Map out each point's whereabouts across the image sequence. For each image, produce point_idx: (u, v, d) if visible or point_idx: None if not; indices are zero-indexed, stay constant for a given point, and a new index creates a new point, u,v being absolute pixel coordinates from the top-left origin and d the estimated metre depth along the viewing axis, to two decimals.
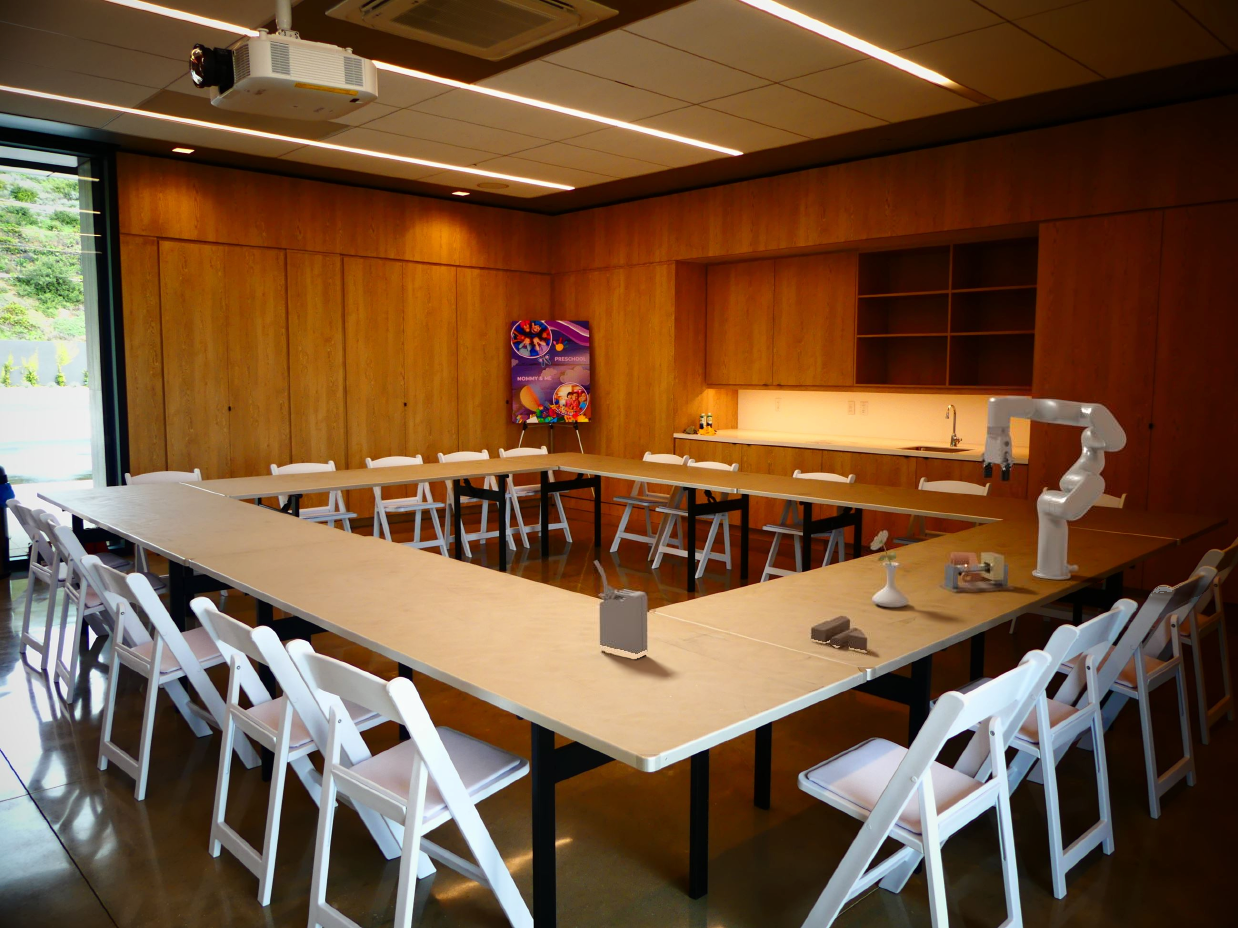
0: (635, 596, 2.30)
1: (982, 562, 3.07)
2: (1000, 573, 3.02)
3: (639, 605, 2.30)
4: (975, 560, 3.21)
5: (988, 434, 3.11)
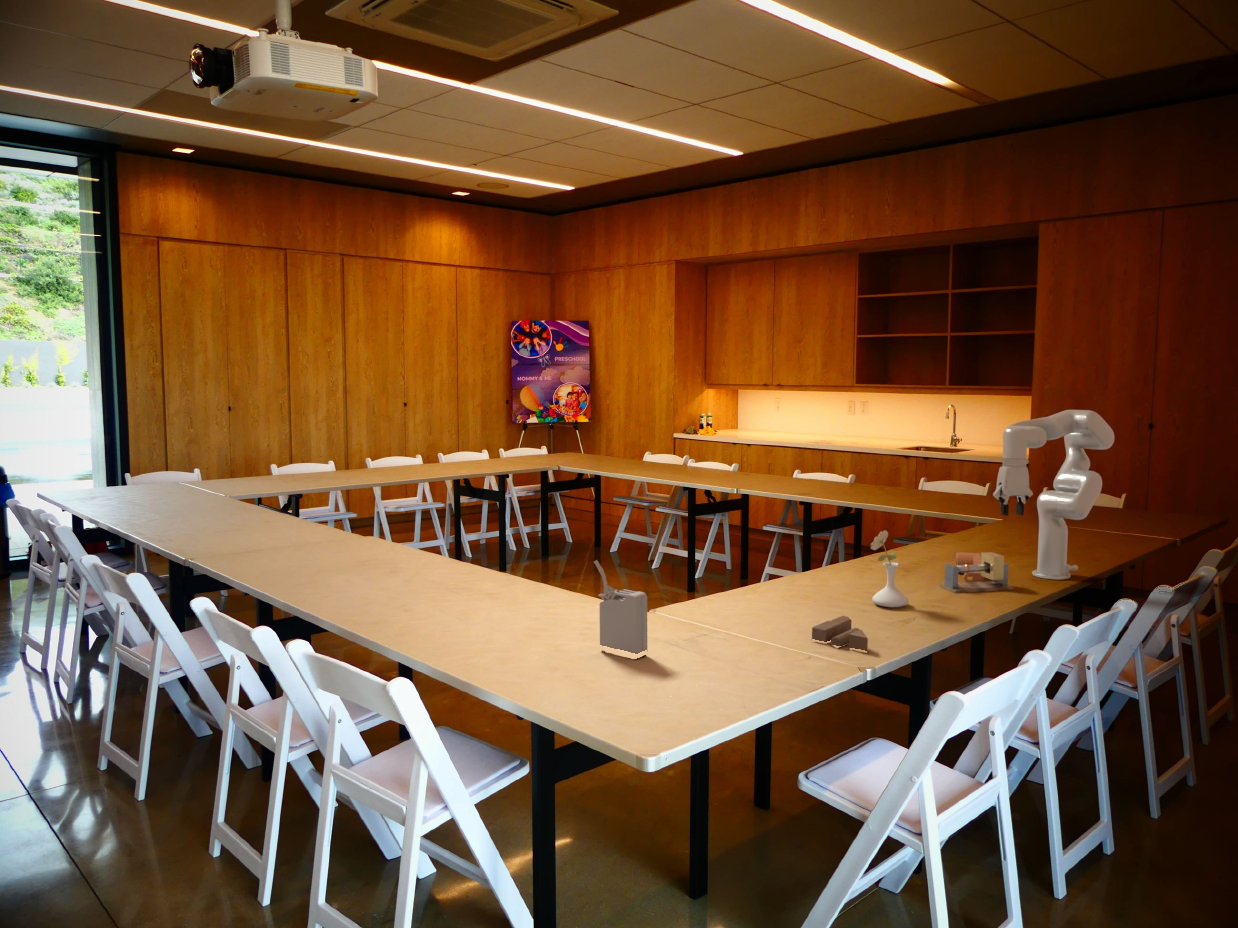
0: (635, 596, 2.30)
1: (982, 562, 3.07)
2: (1000, 573, 3.02)
3: (639, 605, 2.30)
4: (979, 561, 3.20)
5: (1020, 466, 2.99)
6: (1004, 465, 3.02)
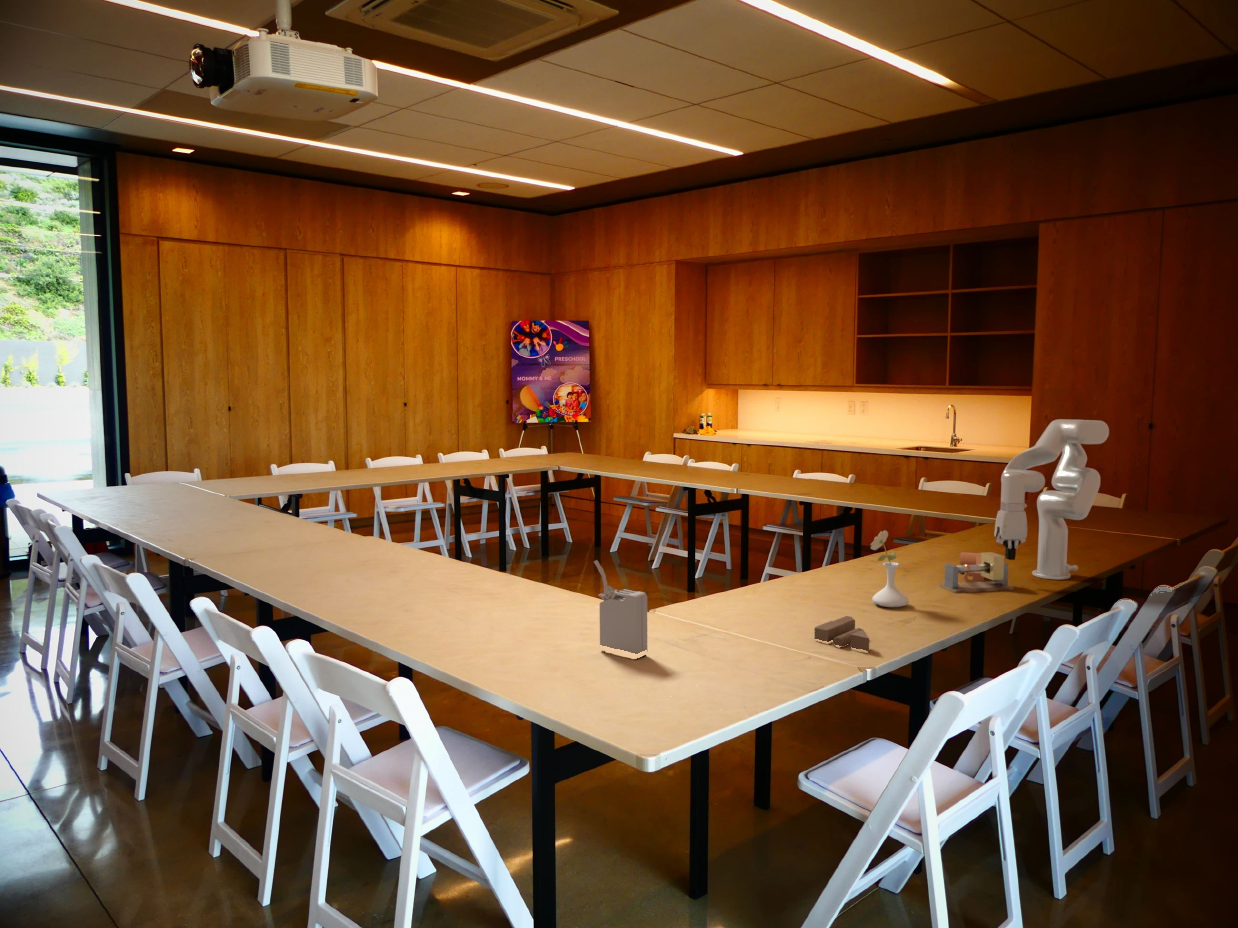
0: (635, 596, 2.30)
1: (982, 562, 3.07)
2: (1000, 573, 3.02)
3: (639, 605, 2.30)
4: None
5: (1018, 511, 3.01)
6: (1002, 509, 3.04)
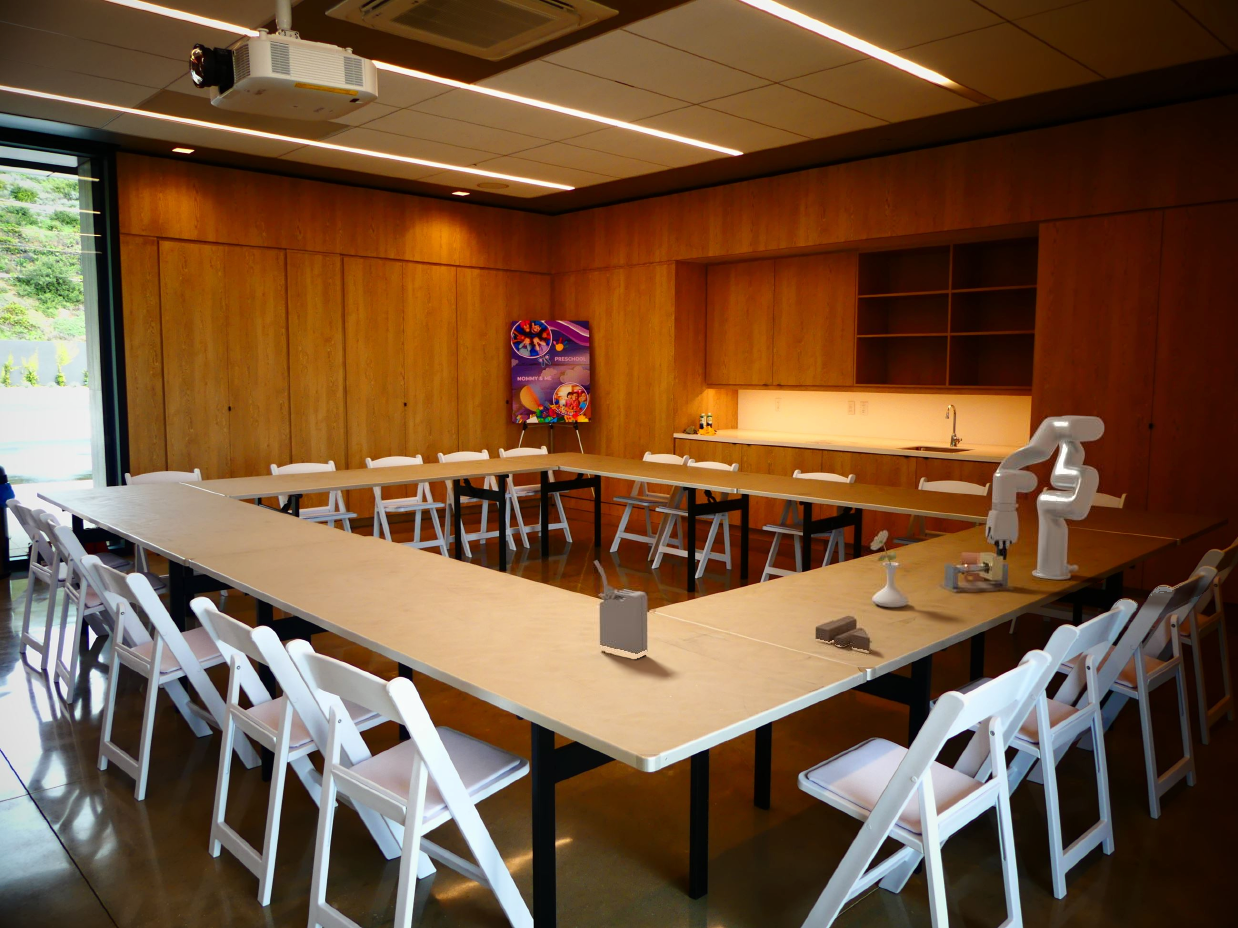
0: (635, 596, 2.30)
1: (981, 562, 3.07)
2: (999, 573, 3.02)
3: (639, 605, 2.30)
4: None
5: (1009, 511, 3.00)
6: (993, 509, 3.03)
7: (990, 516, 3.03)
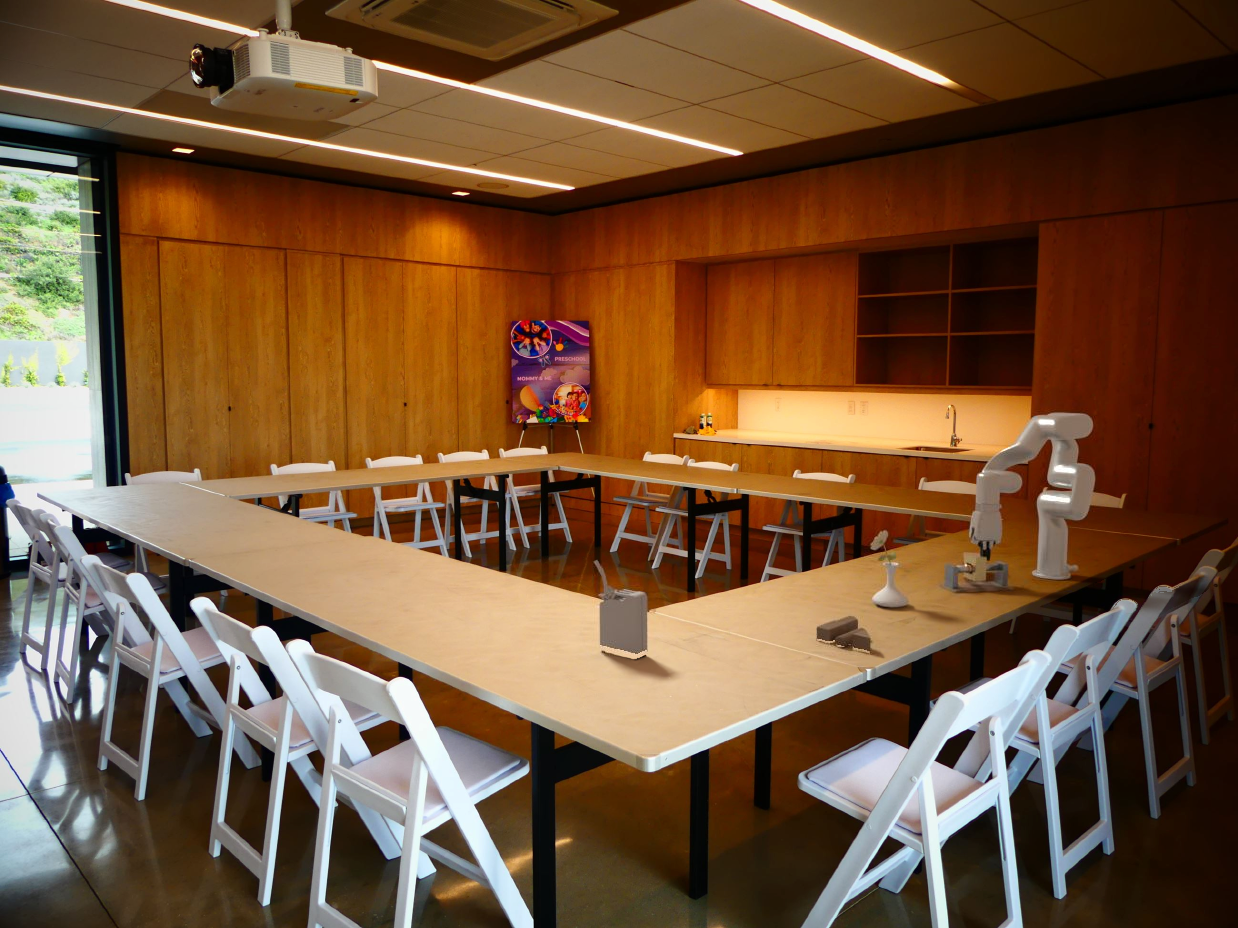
0: (635, 596, 2.30)
1: (965, 563, 3.06)
2: (982, 574, 3.01)
3: (639, 605, 2.30)
4: None
5: (992, 512, 2.99)
6: (977, 510, 3.02)
7: (973, 517, 3.02)
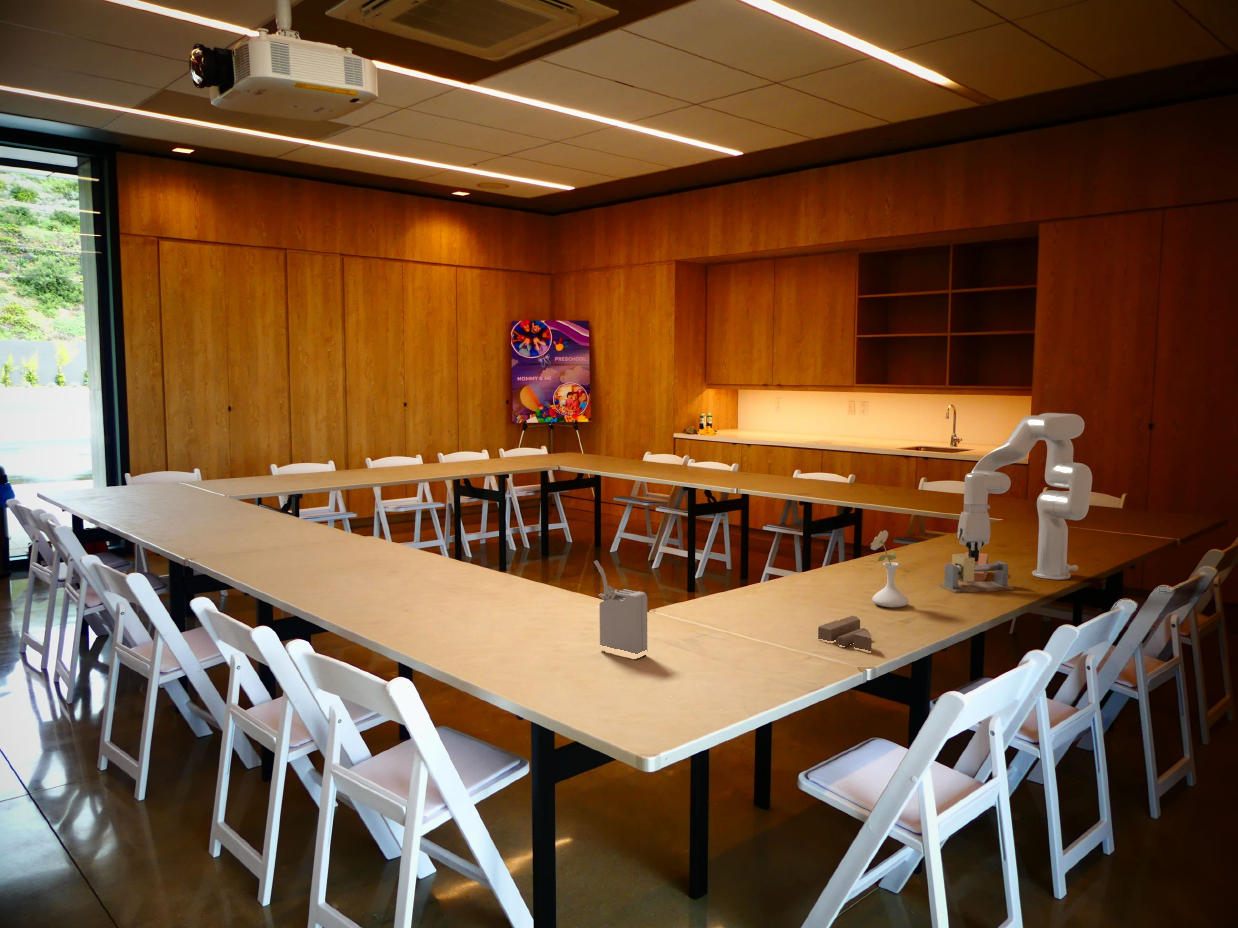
0: (635, 596, 2.30)
1: (953, 564, 3.05)
2: (971, 575, 3.00)
3: (639, 605, 2.30)
4: (983, 561, 3.19)
5: (980, 512, 2.98)
6: (965, 511, 3.01)
7: (962, 518, 3.01)
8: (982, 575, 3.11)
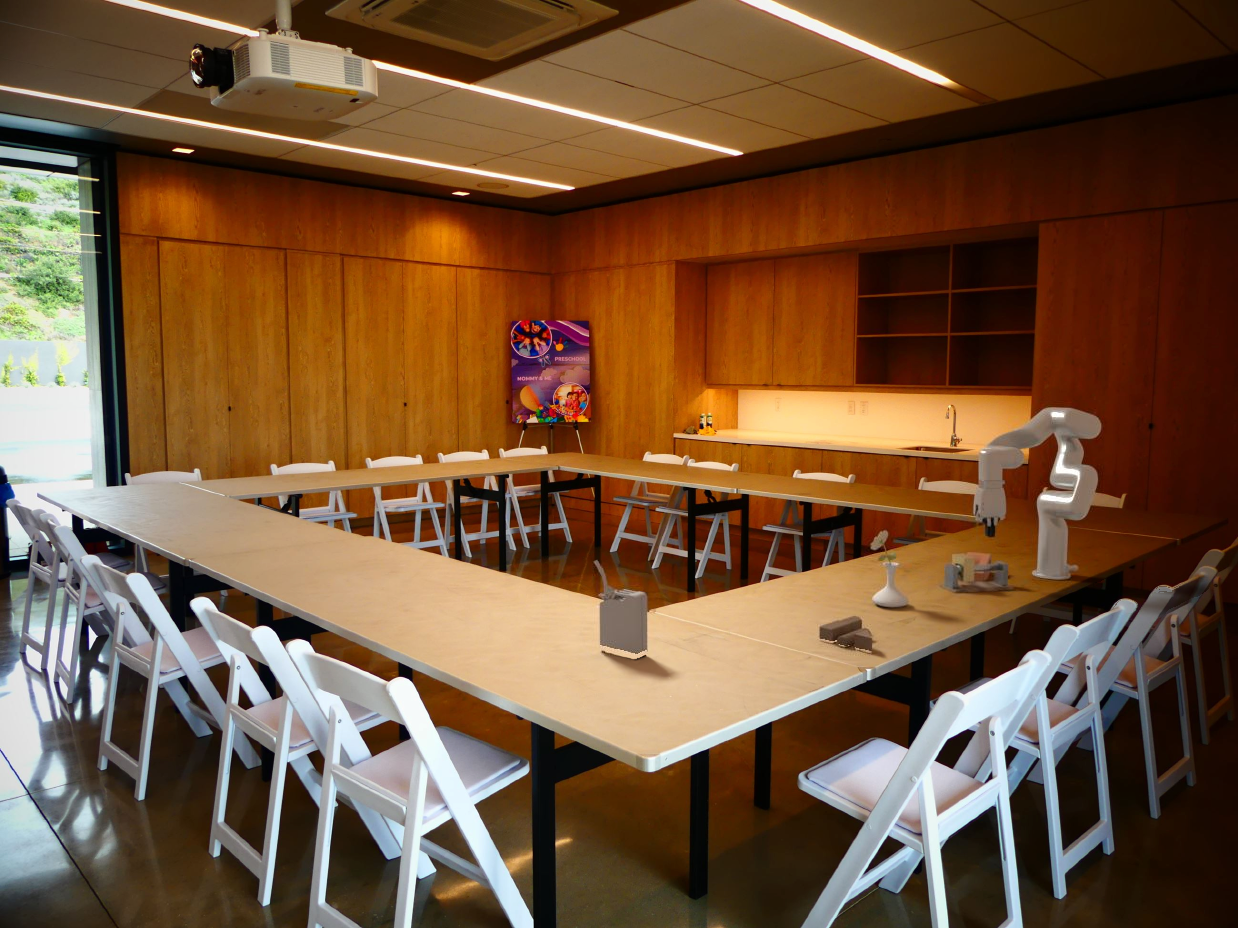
0: (635, 596, 2.30)
1: (953, 564, 3.05)
2: (971, 575, 3.00)
3: (639, 605, 2.30)
4: (985, 561, 3.19)
5: (995, 488, 2.98)
6: (980, 487, 3.01)
7: (977, 494, 3.02)
8: (982, 575, 3.11)
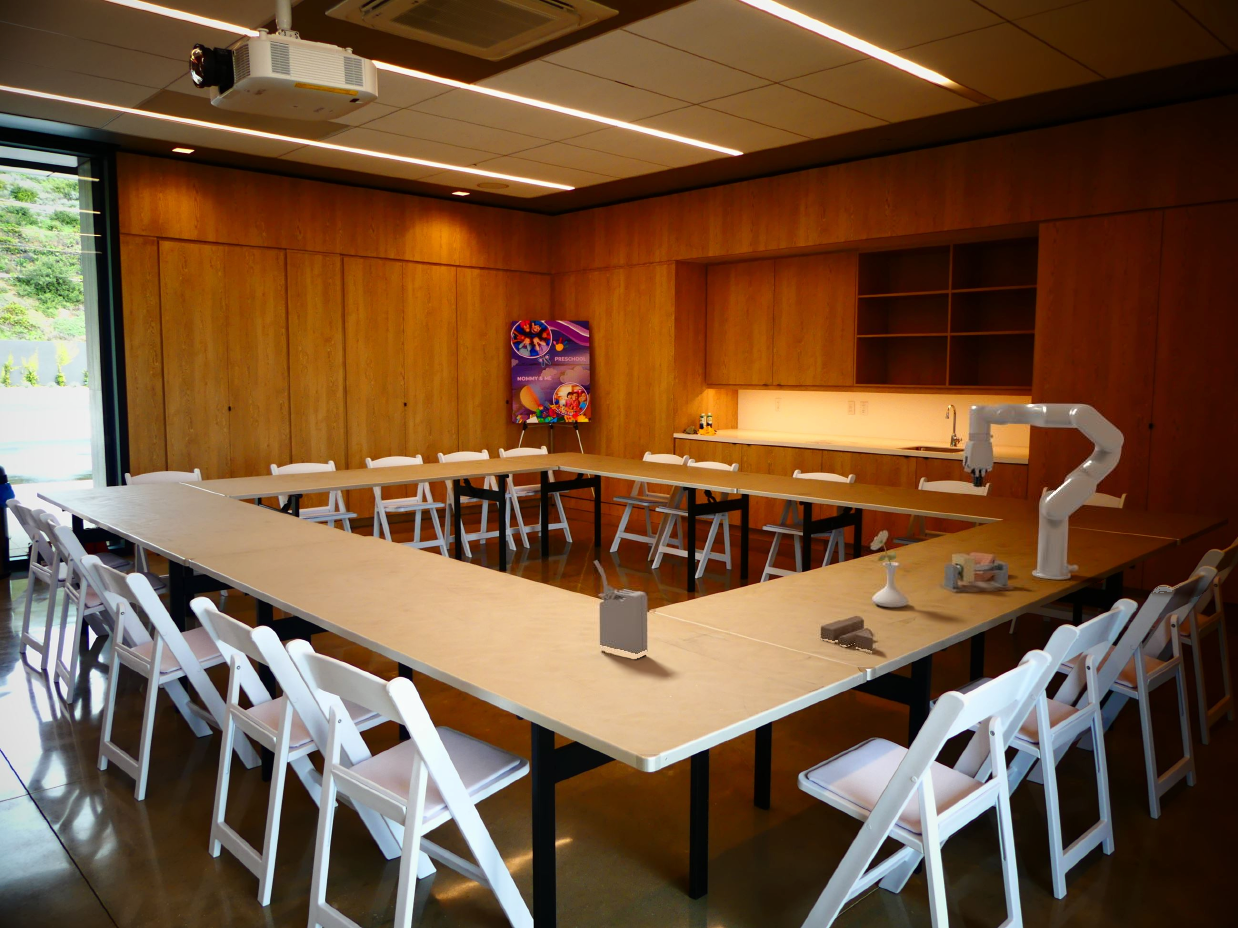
0: (635, 596, 2.30)
1: (953, 564, 3.05)
2: (971, 575, 3.00)
3: (639, 605, 2.30)
4: (987, 561, 3.18)
5: (984, 441, 3.22)
6: (970, 440, 3.25)
7: (967, 446, 3.26)
8: (981, 575, 3.11)
